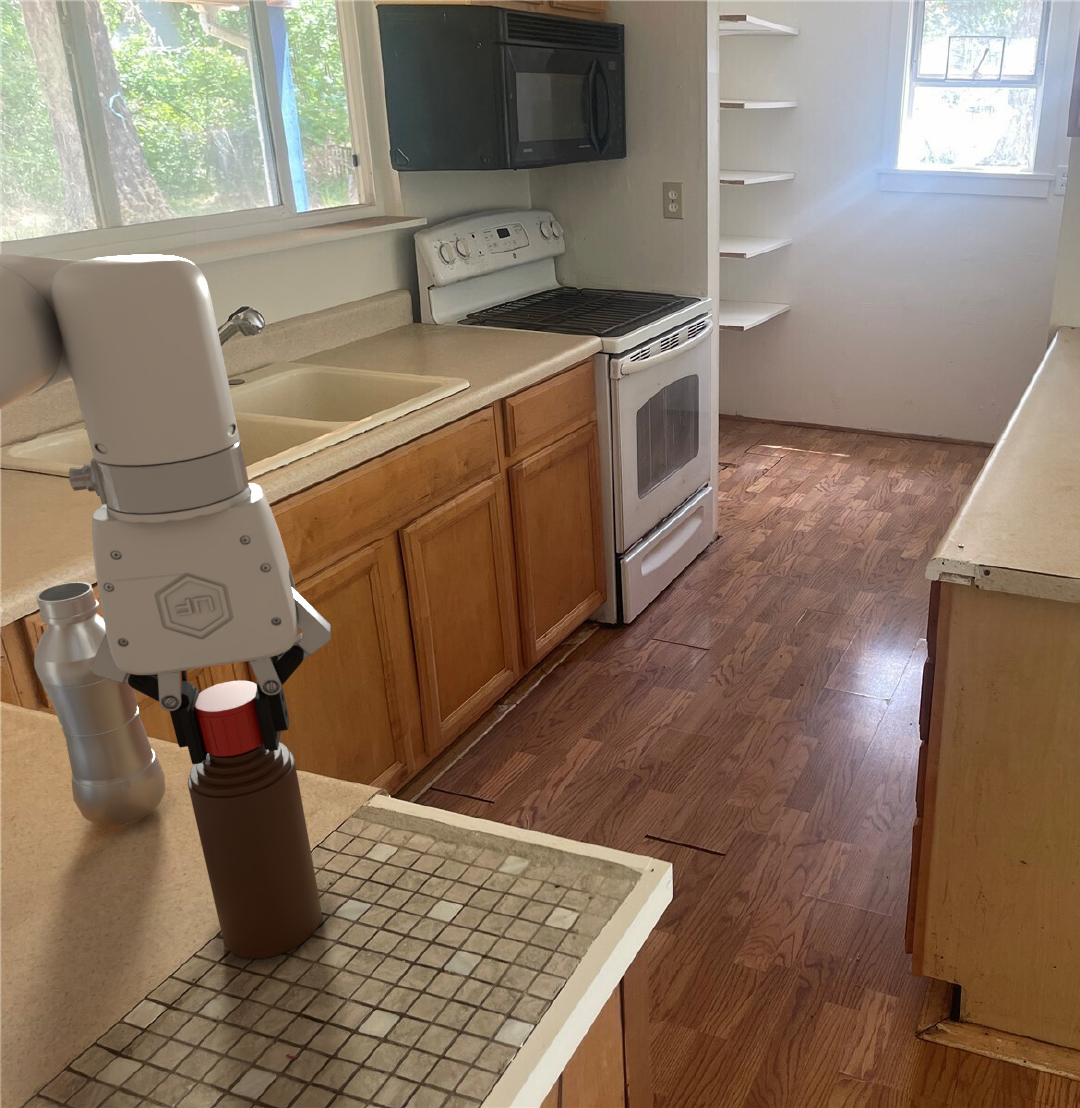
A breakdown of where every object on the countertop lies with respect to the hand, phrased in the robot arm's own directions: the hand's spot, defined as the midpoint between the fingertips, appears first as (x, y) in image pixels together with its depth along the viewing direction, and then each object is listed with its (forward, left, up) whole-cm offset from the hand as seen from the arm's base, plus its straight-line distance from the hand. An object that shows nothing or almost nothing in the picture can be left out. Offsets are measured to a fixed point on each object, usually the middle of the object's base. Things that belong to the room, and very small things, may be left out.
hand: (238, 743), depth 67 cm
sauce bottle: (0, 0, -15) cm, 15 cm away
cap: (0, 0, 0) cm, 0 cm away
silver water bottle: (-3, +22, -15) cm, 27 cm away
